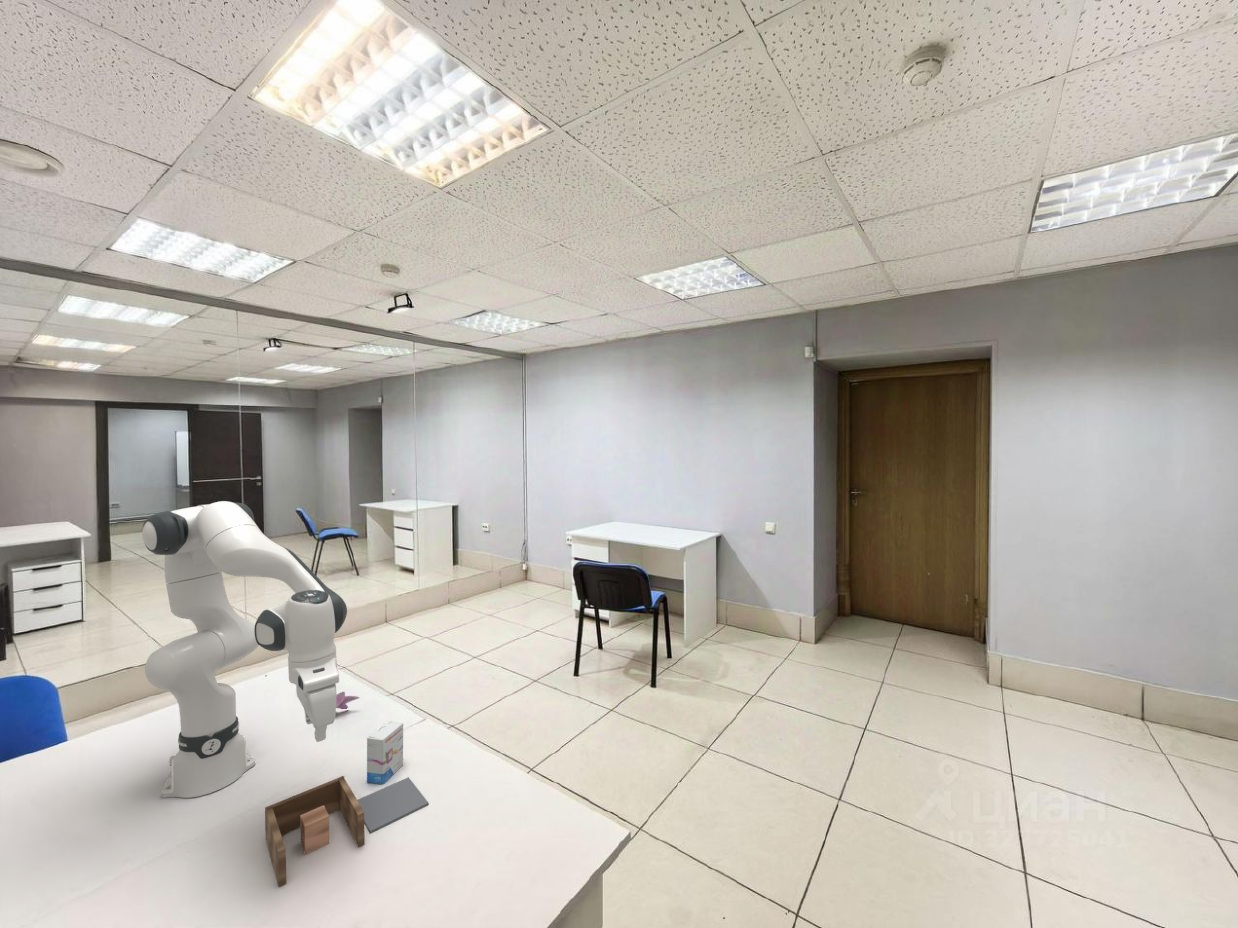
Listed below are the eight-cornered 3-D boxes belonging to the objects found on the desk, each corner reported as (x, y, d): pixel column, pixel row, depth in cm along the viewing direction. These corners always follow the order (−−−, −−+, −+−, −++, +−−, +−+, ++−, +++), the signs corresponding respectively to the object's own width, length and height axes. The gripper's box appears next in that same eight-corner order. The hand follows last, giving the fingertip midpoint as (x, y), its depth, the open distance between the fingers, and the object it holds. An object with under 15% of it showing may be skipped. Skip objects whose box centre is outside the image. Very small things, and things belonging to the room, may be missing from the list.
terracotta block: (300, 842, 107) (300, 815, 107) (324, 831, 110) (323, 805, 110) (305, 854, 104) (304, 826, 104) (329, 843, 107) (328, 815, 107)
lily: (364, 716, 161) (363, 685, 165) (337, 719, 150) (337, 686, 154) (332, 725, 162) (332, 694, 166) (303, 730, 152) (303, 696, 156)
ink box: (383, 785, 125) (382, 739, 125) (366, 782, 126) (365, 737, 126) (404, 764, 134) (403, 721, 134) (388, 762, 135) (387, 719, 135)
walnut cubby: (265, 838, 108) (264, 807, 108) (343, 804, 119) (343, 775, 118) (278, 886, 96) (278, 851, 96) (364, 843, 106) (364, 811, 106)
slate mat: (353, 803, 119) (353, 801, 119) (408, 778, 128) (408, 776, 128) (370, 833, 109) (370, 831, 109) (428, 804, 118) (428, 802, 118)
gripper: (287, 657, 112) (289, 718, 112) (305, 687, 97) (308, 757, 97) (319, 649, 116) (321, 708, 117) (341, 677, 101) (343, 743, 102)
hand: (315, 730), depth 107 cm, fingers open, 8 cm apart
